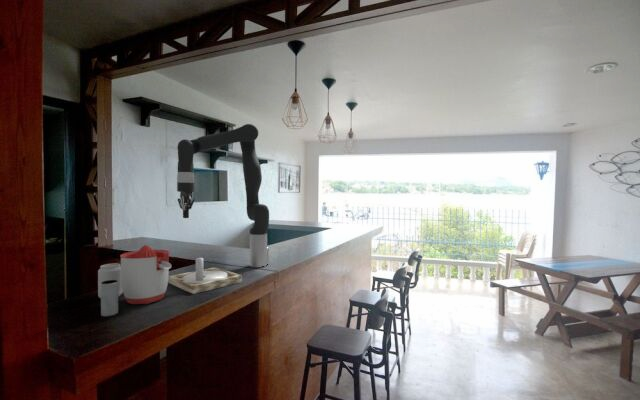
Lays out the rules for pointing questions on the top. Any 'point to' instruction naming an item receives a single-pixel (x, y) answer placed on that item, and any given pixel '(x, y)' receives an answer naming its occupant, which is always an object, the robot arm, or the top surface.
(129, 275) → the citrus juicer
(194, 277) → the dial
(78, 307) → the top surface
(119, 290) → the can
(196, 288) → the dial housing
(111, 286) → the grey tall cylinder
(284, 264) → the top surface
